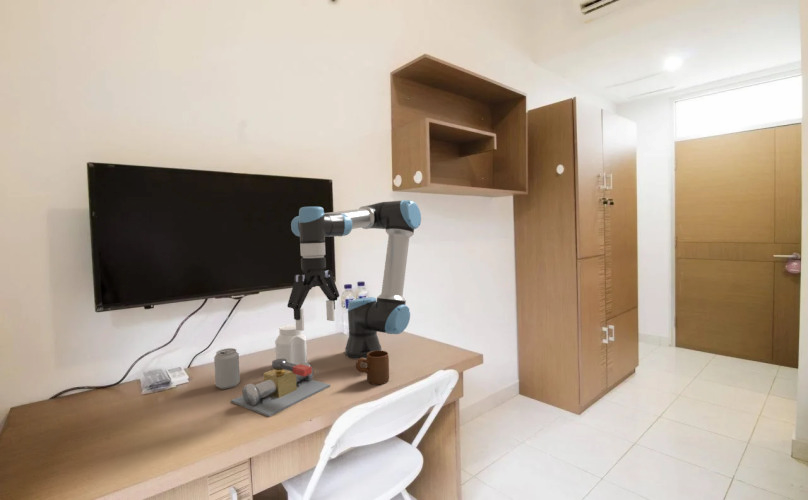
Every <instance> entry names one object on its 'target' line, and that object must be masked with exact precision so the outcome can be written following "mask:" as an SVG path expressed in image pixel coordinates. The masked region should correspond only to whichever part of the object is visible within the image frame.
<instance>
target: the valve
mask: <svg viewBox="0 0 808 500" xmlns="http://www.w3.org/2000/svg"><path fill="white" fill-rule="evenodd" d="M301 364H302V365H306V366H310V367H312V373H311V374H309V375H307V376H305V377H304V376H300V375H297V374H293V372H292V371H288V370H285V369H280V370H274V369H271V370H269V371H266V372H263V381H261V382H260V383H257V384H254V383H252V382H251V383H248V384H246V385H244V386H243V389H242V395H243V398H244V401H245V402H246V404H248V405H250V406H254V405H256V404H258V402H260V403H262V404H263V403H265V402H267V401H270V400H271V397H268V395H271V396H274V397H277V398H280V397H282V396H284V395H286V394H289V393H291V392H293V391H295V390H297V386H298V387H300V386H302V385H305V384H306V381H309V380H311V379H312V380H313V377H314V368H313V366H312V365H311V364H310V363H309V362H308V361H307V362H303V363H301ZM302 380H304V381H302Z"/></svg>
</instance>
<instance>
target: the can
mask: <svg viewBox="0 0 808 500" xmlns="http://www.w3.org/2000/svg"><path fill="white" fill-rule="evenodd" d="M239 354H240V353H238V351H237V349H236V348H224V349H223V348H222V349H219V350H217V351H216V353H215V356H214V357H213V359H214V360H213V361H214V377H215V381H214V382H215V387H217V388H218V389H221V390H226V389H231V388H234V387H236V386H237V385H238V384H239V383H240V382H241V378H240V356H239Z"/></svg>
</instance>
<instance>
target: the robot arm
mask: <svg viewBox="0 0 808 500" xmlns="http://www.w3.org/2000/svg"><path fill="white" fill-rule="evenodd" d="M421 221H422V214H421V210H420V208H419V205H418V203H416V202H415V201H413V200H407V199H402V200H392V201H390V200H389V201H381V202H376V203H373V204H369V205H363V206H360V207H359V208H357V209H347V210H341V211H339V210H338V211H333V212H332V211H331V212H325V210H324V208H323V207H322V206H303V207H300V208H299V210H298V216H295V217H294V218H293V219H292V220H291V224H290V226H291V229H290V230H291V232H292V233H293V234H294V235H295V236H297V237H299V243H300V244H299V246H300V256H301V259H300V267H301V270H302V274H294V277H293V285H292V289H291V292H290V295H289V299H288V302H287V308H289V309H293V319H294V321H295V325H296V330H301V331H302V332H303V331H305V315H304V308H302V307H303V304H304V302H305V300H306V298H307V296H308V294H309V292H310V290H312V289H313V288H315V287H319V288H320V290H321V291H322V292H323V294H324V296H325V297H326V299H327V300H326V301H325V302H326V303H325V305H326V306H325V308H326V320H327V321H328V322H330V321H331V322H335V320H336V319H335V310H336V301H338V298H340V291H339V290H338V287H337V285H336V282H335V279H334V277H333V276H334V275H333V271H332V270H330V269H328V270H327V269H326V268H327V261H326V257H325V256H326V238H327V237H329V238H330V237H345V236H348V235H350V233H351V232H352V230H355V229H360V228H362V229H364V230H368V229H375V230H377V229H378V230H379V229H380V230H385V233H386V234H387V237H388V239H387V246H386V255H385V261H384V271H383V277H382V278H383V279H382V285H381V293H380V295H378V296H376V297H375V296H370V297H369V296H368V297H362V298H356V299H352V300H350V301H349V302H348V305H347V319H348V338H347V341H346V344H345V345H346V346H345V348H344V353H345V357H348V358H350V359H354V360H355V359H356V360H358V359H359V358H362V357H363V358H367V353H369V352H371V351H382V345H381V343H380V339H379V337H378V332H379V333H382V334H383V333H385V334H388V335H399V334H401V333H403V332H404V331H405V329H407V327H408V325H409V323H410V319H411V311H410V307H409V306H407V305H406V303H407V302H406V301H407V300H406V299H405V298H404V296H403V295H404V288H405V287H404V285H405V280H406V278H405V277H406V270H407V261H408V252H409V246H410V245H409V243H410V238H411V237H413V236H414V232H415V230H416V229H418V228H419V227H420V225H421V223H422V222H421Z"/></svg>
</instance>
